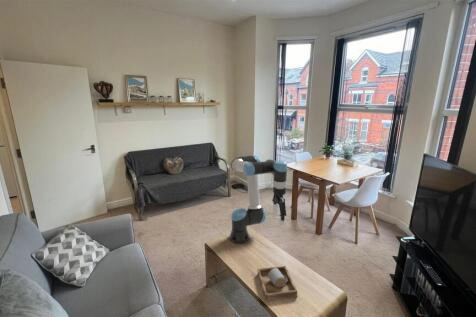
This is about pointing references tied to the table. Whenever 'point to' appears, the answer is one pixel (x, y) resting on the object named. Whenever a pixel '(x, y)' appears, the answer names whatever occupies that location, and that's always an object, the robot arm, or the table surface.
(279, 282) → the ceramic mug
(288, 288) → the crate
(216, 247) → the table surface
